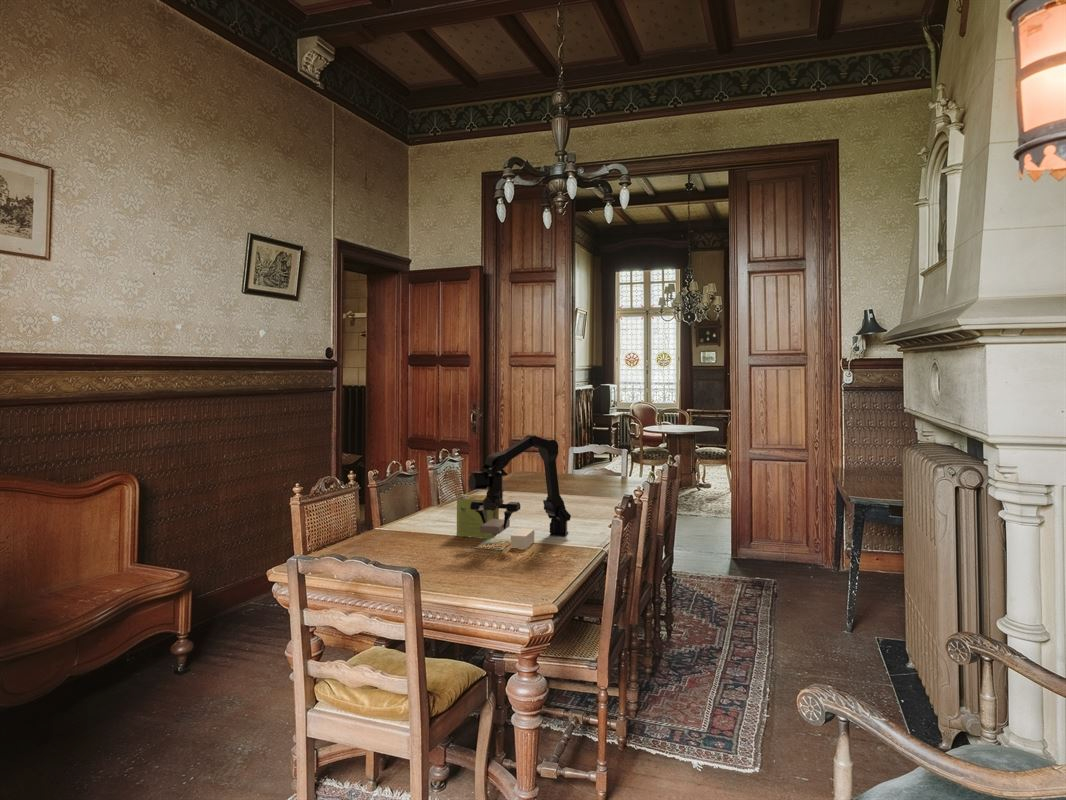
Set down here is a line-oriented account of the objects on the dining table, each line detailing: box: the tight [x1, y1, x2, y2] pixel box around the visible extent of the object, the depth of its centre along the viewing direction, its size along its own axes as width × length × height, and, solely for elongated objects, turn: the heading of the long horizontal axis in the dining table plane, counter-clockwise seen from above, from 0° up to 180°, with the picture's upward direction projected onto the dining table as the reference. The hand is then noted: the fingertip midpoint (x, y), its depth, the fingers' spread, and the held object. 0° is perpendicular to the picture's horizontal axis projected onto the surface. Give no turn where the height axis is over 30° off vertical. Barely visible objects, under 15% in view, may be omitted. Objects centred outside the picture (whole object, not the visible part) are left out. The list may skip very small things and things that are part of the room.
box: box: [510, 527, 535, 550], centre depth 256 cm, size 6×12×5 cm, turn 165°
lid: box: [480, 518, 511, 535], centre depth 257 cm, size 7×13×2 cm, turn 165°
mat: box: [474, 537, 511, 551], centre depth 257 cm, size 11×16×1 cm
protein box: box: [456, 494, 500, 539], centre depth 274 cm, size 10×15×16 cm
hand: (495, 528), depth 257 cm, fingers closed on lid, 7 cm apart
